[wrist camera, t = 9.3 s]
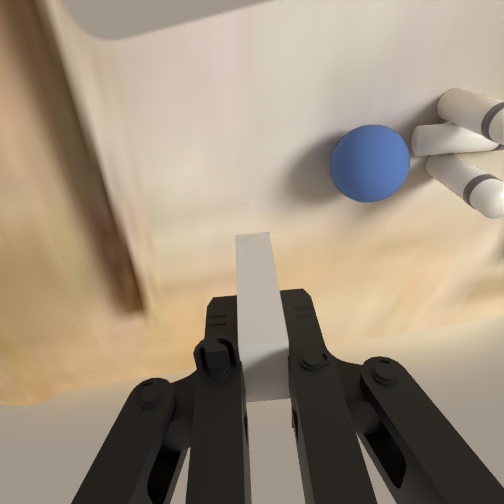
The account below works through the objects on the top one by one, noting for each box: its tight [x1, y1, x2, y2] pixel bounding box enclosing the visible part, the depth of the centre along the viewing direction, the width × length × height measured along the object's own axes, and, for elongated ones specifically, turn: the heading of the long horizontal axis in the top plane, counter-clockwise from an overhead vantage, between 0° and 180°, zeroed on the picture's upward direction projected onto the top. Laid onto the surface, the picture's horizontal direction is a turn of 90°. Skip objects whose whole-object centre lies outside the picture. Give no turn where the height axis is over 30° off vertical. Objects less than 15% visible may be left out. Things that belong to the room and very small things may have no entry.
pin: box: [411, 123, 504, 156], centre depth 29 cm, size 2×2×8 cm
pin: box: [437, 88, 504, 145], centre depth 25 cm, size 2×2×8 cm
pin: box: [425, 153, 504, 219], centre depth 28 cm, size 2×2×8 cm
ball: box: [331, 125, 410, 202], centre depth 28 cm, size 6×6×6 cm
